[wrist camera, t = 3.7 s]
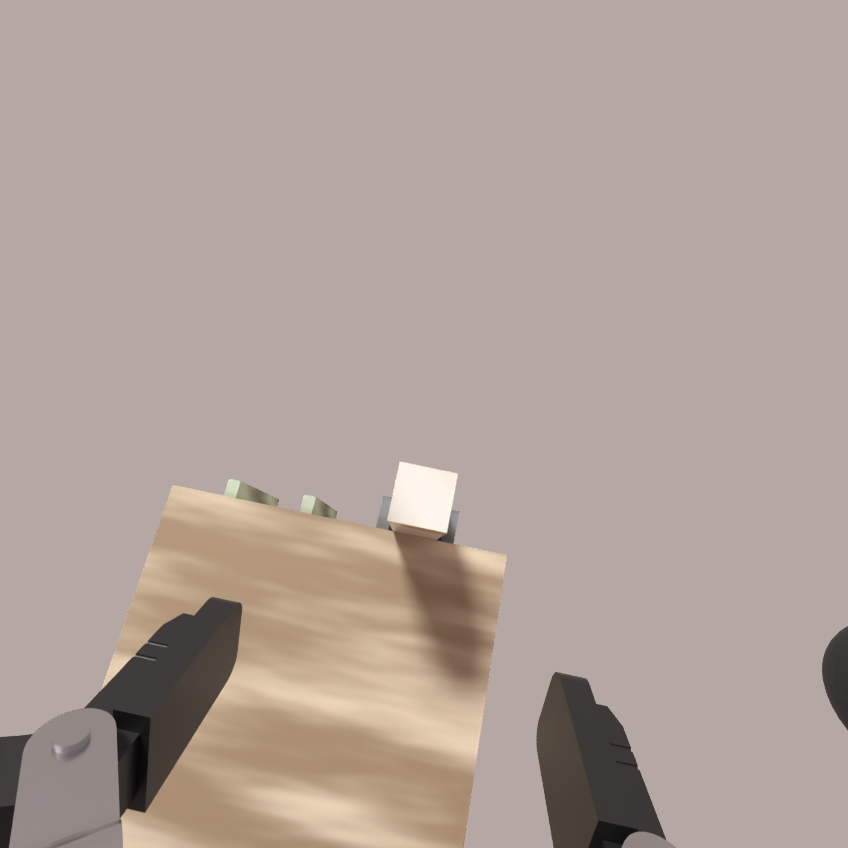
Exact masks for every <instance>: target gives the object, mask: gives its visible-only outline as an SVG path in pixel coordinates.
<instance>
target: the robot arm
mask: <svg viewBox="0 0 848 848" xmlns="http://www.w3.org/2000/svg"><path fill="white" fill-rule="evenodd" d="M241 616H242V604H241V603H239V602H235V601H230V600H225V599H221V598H216V597H211V598H209V599H208V600H207V601H206V602H205V604H204V605H203V606H202V607H201V608H200V609H199V610H198V612H197V613H196V614H195V615H190V614H185V613H183V614H181V615H179V616H177V617H176V618H174V619H172V620H170V621H168V622H167V623H165V624H163V625H162V626H161V627H160V628H159V629H158V630H157V631H156V632H155V633H154V635H153V636H152V637H151V638H150V639H149V640H148V642H147V644H146V643H145V644H144V645H143V646H142V647H141V648H140V649H139V651H138V652H137V653H136V655H135V657H132V658H131V659H130V660H129V661H128V662H127V663H126V664H125V665H124V667H123V668H122V669H121V670H120V671H119V672H118V673H117V674H116V675H115V676H114V677H113V678H112V679H111V680H110V681H109V682H108V684H107V685H106V686H105V687H104V688H103V689H102V690H101V691H100V692H99V693H98V694H97V695H96V696H95V697H94V698H93V700H92V701H91V702H90V703H89V704H88V705H87V706H86V707H85V708H84V709H78V710H73V711H70V712H66V713H64V714H61V715H59V716H57V717H55V718H53V719H51V720H50V721H48V722H47V723H45V724H44V725H43V726H41V727H40V728H39V729H38V730H37V731H36V732H35V733H34V734H30V735H23V736H10V737H0V848H123V832H122V820H121V819H120V818H121V817H122V815H123V814H124V812H125V811H126V809H130V810H135V811H139V812H143V813H145V812H146V811H147V809H148V807H149V806H150V804H151V803H152V801H153V799H154V798H155V796H156V795H157V793H158V792H159V790H160V788H161V787H162V785H163V784H164V782H165V780H166V779H167V777H168V776H169V774H170V772H171V771H172V769H173V768H174V766H175V764H176V763H177V761H178V760H179V758H180V756H181V755H182V753H183V752H184V750H185V748H186V747H187V745H188V744H189V742H190V740H191V739H192V737H193V736H194V734H195V732H196V731H197V729H198V728H199V726H200V724H201V723H202V721H203V720H204V718H205V716H206V715H207V713H208V712H209V710H210V708H211V707H212V705H213V704H214V702H215V700H216V699H217V697H218V696H219V694H220V692H221V691H222V689H223V688H224V686H225V684H226V683H227V681H228V679H229V677H230V675H231V673H232V671H233V668H234V665H235V662H236V658H237V653H238V644H239V635H240V626H241ZM822 675H823V682H824V686H825V689H826V693H827V696H828V698H829V700H830V703H831V705H832V707H833V709H834V710H835V712H836V714H837V716H838V718H839V719H840V720H841V721H842V723H843V724H844V726H845V727H846V728H847V730H848V627H846V628H844V629H843V630H841V631H840V632H839V633H838V634H837V635H836V636H835V637H834V638H833V639H832V640H831V642H830V643H829V645H828V647H827V649H826V651H825V654H824V658H823V663H822ZM537 752H538V758H539V764H540V770H541V776H542V782H543V787H544V793H545V799H546V805H547V811H548V816H549V823H550V828H551V835H552V840H553V846H554V848H676V847H674V846H673V845H672V844H671V843H669V842H668V841H666V838H665V835H664V833H663V830H662V828H661V825H660V822H659V820H658V817H657V815H656V812H655V809H654V807H653V804H652V801H651V799H650V796H649V794H648V791H647V788H646V786H645V783H644V781H643V778H642V775H641V773H640V771H639V770H638V768H637V762H636V760H635V757H634V755H633V752H631V747H630V744H629V742H628V739H627V737H626V734H625V731H624V728H623V726H622V725H621V724H620V722H619V721H618V720H617V718H616V717H615V716H614V715H613V713H612V712H611V711H610V709H609V708H608V707H607V706H603V705H598V704H596V702H595V700H594V696H593V693H592V690H591V688H590V685H589V682H588V680H587V679H585V678H581V677H577V676H572V675H567V674H562V673H558V672H555V673H554V675H553V676H552V679H551V682H550V685H549V689H548V692H547V696H546V699H545V702H544V705H543V708H542V712H541V715H540V718H539V722H538V728H537Z"/></svg>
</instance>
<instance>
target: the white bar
mask: <svg viewBox="0 0 848 848" xmlns="http://www.w3.org/2000/svg"><path fill="white" fill-rule="evenodd" d="M457 476H458V474H457V473H452V472H448V471H443V470H438V469H434V468H428V467H424V466H419V465H414V464H409V463H404V462H400V463H399V468H398V473H397V477H396V481H395V486H394V490H393V495H392V499H391V504H390V508H389V513H388V517H387V522H388V523H389V525H390V526H391V528H392V530H393V531H394V532H399V533H404V534H408V535H413V536H418V537H423V538H427V539H432V540H437V539H439V538H440V537H442V536H443V535H445V534H446V533H447V530H448V525H449V519H450V514H451V508H452V503H453V498H454V492H455V487H456V482H457Z"/></svg>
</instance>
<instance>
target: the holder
mask: <svg viewBox="0 0 848 848" xmlns="http://www.w3.org/2000/svg"><path fill="white" fill-rule="evenodd" d="M391 499H392V497H386V496H383V500H382V504H381V508H380V513H379V517H378V522H377V527H376V528H375V527H370V526H366V525H361V524H356V523H351V522H347V521H342V520H337V519H335V518H336V514H337V511H335V510H334V509H333V508H331V507H330V506H328V505H327V504H325V503H324V502H322V501H321V500H319V499H318V498H317V497H313V496H308V495H304V498H303V501H302V505H301V508H300V512H298V511H294V510H289V509H285V508H280V507H277V505H278V502H279V499H277V498H275V497H273V496H271V495H268V494H266V493H264V492H262V491H260V490H258V489H255V488H254V487H252V486H250V485H247V484H245V483H243V482H241V481H237V480H231V479H229V481H228V484H227V488H226V490H225V493H224V496H223V495H218V494H213V493H209V492H203V491H199V490H194V489H190V488H185V487H180V486H175V485H173V486H172V489H171V492H170V495H169V498H168V501H167V504H166V507H165V509H164V512H163V515H162V518H161V521H160V524H159V527H158V529H157V532H156V535H155V538H154V541H153V544H152V547H151V549H150V552H149V555H148V558H147V561H146V564H145V566H144V570H143V572H142V575H141V578H140V581H139V584H138V586H137V589H136V592H135V595H134V598H133V601H132V604H131V606H130V609H129V612H128V615H127V618H126V621H125V624H124V626H123V630H122V632H121V635H120V638H119V641H118V644H117V646H116V649H115V652H114V656H113V658H112V661H111V664H110V666H109V670H108V672H107V675H106V678H105V681H104V684H103V686H102V689H103V688H104V687H105V686H106V685H107V684H108V682H109V681H110V680H111V679H112V678H113V677H114V676H115V675H116V674H117V673H118V672H119V671H120V670H121V669H122V668H123V667H124V665H125V664H126V663H127V662H128V661H129V660H130V659H131V658H132V657H135V655H136V653H137V652H138V651H139V649H140V648H141V647H142V646H143V645H144V644H145V643H146V644H147V642H148V640H149V639H150V638H151V637H152V636H153V635H154V633H155V632H156V631H157V630H158V629H159V628H160V627H161V626H162V625H163V624H165V623H167V622H168V621H170V620H172V619H174V618H176V617H177V616H179V615H181V614H183V613H185V614H190V615H195V614H196V613H197V612H198V610H199V609H200V608H201V607H202V606H203V605H204V604H205V602H206V601H207V600H208V599H209V598H211V597H216V598H221V599H225V600H230V601H235V602H239V603H241V604H242V616H241V626H240V635H239V644H238V653H237V658H236V662H235V665H234V668H233V671H232V673H231V675H230V677H229V679H228V681H227V683H226V684H225V686H224V688H223V689H222V691H221V692H220V694H219V696H218V697H217V699H216V700H215V702H214V704H213V705H212V707H211V708H210V710H209V712H208V713H207V715H206V716H205V718H204V720H203V721H202V723H201V724H200V726H199V728H198V729H197V731H196V732H195V734H194V736H193V737H192V739H191V740H190V742H189V744H188V745H187V747H186V748H185V750H184V752H183V753H182V755H181V756H180V758H179V760H178V761H177V763H176V764H175V766H174V768H173V769H172V771H171V772H170V774H169V776H168V777H167V779H166V780H165V782H164V784H163V785H162V787H161V788H160V790H159V792H158V793H157V795H156V796H155V798H154V799H153V801H152V803H151V804H150V806H149V807H148V809H147V811H146V812H145V813H143V812H139V811H135V810H130V809H126V811H125V812H124V814H123V815H122V817H121V818H120V819H121V820H122V832H123V848H463V845H464V838H465V832H466V825H467V818H468V812H469V805H470V798H471V791H472V785H473V778H474V772H475V764H476V758H477V752H478V745H479V738H480V732H481V725H482V718H483V712H484V705H485V698H486V691H487V684H488V678H489V671H490V664H491V658H492V651H493V645H494V638H495V631H496V625H497V618H498V611H499V605H500V598H501V591H502V584H503V577H504V571H505V564H506V558H507V555H503V554H499V553H494V552H489V551H484V550H480V549H475V548H470V547H465V546H461V545H455V544H453V543H454V536H455V532H456V526H457V521H458V515H459V511H453V510H451V514H450V519H449V525H448V530H447V533H446V534H445V535H443V536H442V537H440V538H439V539H437V540H432V539H427V538H423V537H418V536H413V535H408V534H404V533H399V532H394V531H393V530H392V528H391V526H390V525H389V523H388V522H387V517H388V513H389V508H390V504H391ZM102 689H101V690H102Z"/></svg>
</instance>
